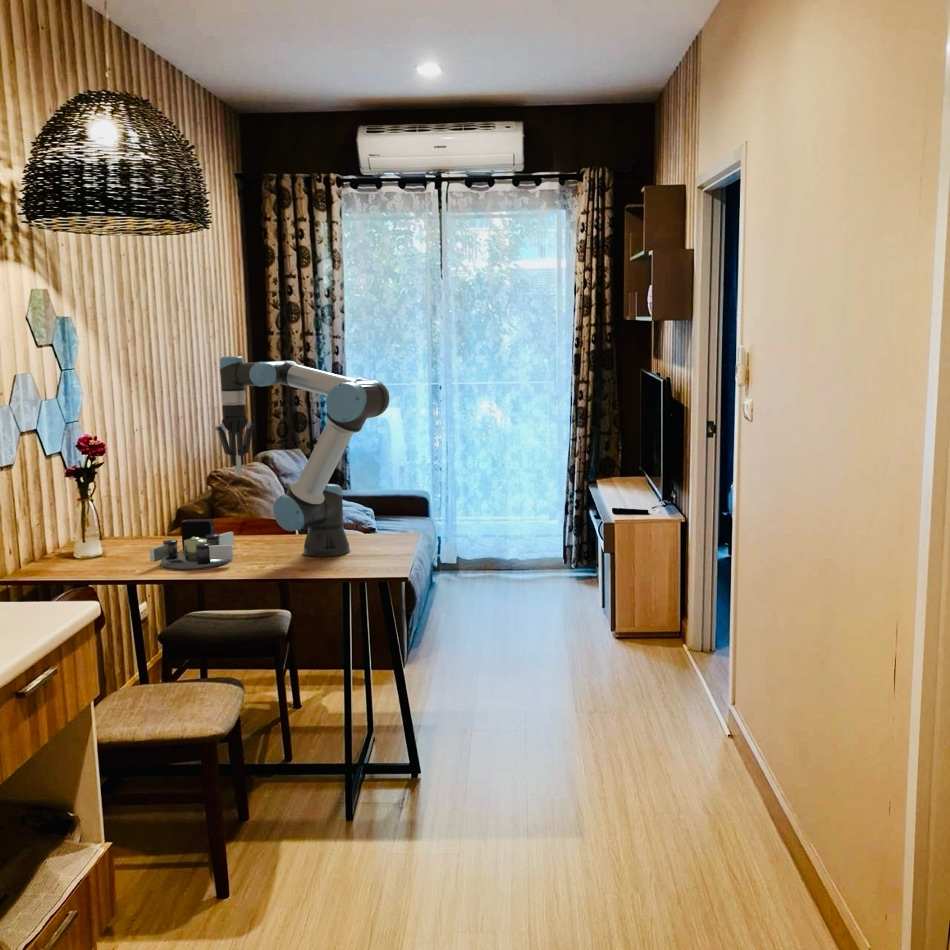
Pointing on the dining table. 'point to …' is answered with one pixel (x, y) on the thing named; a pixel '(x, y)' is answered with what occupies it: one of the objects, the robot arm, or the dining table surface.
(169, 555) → the knob
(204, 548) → the knob
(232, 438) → the robot arm
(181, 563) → the tribrach
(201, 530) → the electronic device
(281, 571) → the dining table surface
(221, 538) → the knob
